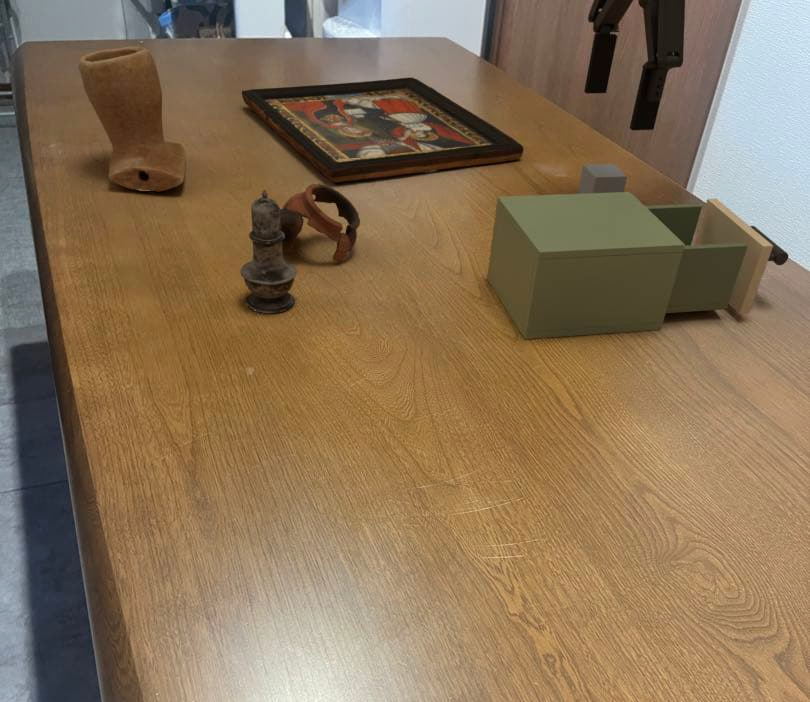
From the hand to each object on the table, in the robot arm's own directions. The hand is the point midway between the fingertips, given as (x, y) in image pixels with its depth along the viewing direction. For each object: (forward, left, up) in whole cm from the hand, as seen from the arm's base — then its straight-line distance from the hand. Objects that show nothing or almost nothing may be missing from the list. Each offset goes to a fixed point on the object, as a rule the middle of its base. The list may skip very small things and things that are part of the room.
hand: (617, 110), depth 106 cm
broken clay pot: (+11, +38, -14) cm, 42 cm away
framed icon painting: (+40, +6, -14) cm, 43 cm away
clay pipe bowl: (+42, +44, -14) cm, 62 cm away
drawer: (-21, +8, -13) cm, 25 cm away
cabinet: (-15, +20, -14) cm, 28 cm away
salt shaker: (+3, +48, -14) cm, 50 cm away
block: (+3, -4, -14) cm, 14 cm away
